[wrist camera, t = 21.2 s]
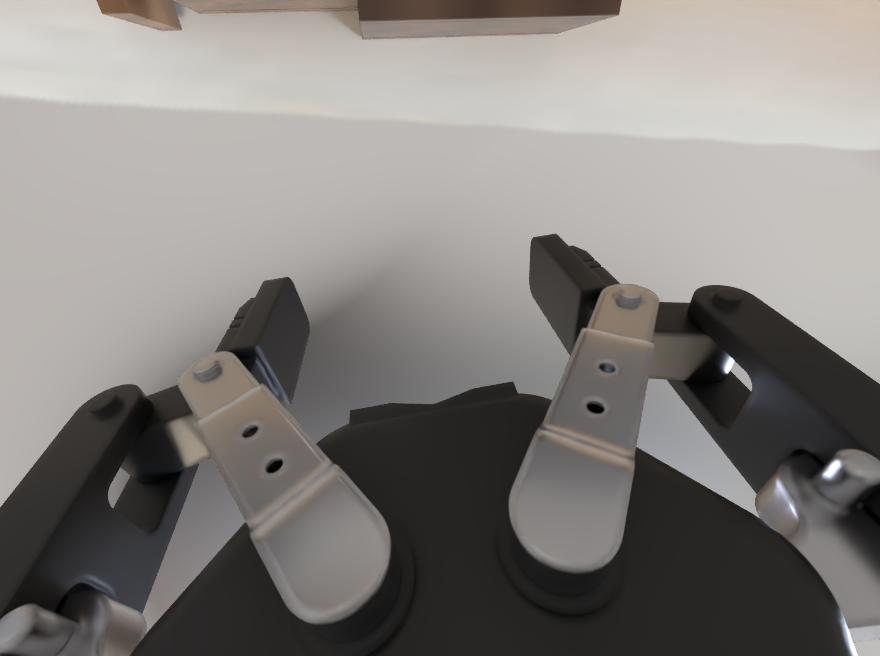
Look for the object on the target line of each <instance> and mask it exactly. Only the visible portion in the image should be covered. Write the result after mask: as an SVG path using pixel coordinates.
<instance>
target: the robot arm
mask: <svg viewBox="0 0 880 656" xmlns="http://www.w3.org/2000/svg"><path fill="white" fill-rule="evenodd" d="M529 272H530V273H529V284H530V290H531V293H532V296H533V298H534V299H535V301H536V302H537V304H538V306H539V307H540V309H541V310H542V312H543V314H544V315H545V316H546V318H547V320H548V321H549V323H550V324H551V326H552V328H553V329H554V331H555V332H556V334H557V336H558V337H559V339H560V340H561V342H562V344H563V345H564V347H565V348H566V350H567V351H568V353H569V354H570V358H569V361H568V363H567V366H566V368H565V371H564V373H563V375H562V378H561V380H560V383H559V385H558V387H557V390H556V392H555V395H554V397H553V400H550V399H547V398H544V397H540V396H536V395H530V394H519V393H517V390H516V388H515V385H514V383H513V382H508V383H502V384H496V385H491V386H485V387H480V388H474V389H471V390H469V391H466V392H464V393H461V394H459V395H456V396H454V397H451V398H449V399H446V400H444V401H441V402H439V403H436V404H397V403H389V404H384V405H378V406H373V407H367V408H362V409H356V410H350V421H349V424H347V425H345V426H343V427H341V428H339V429H337V430H335V431H333V432H332V433H330V434H328V435H327V436H325V437H324V438H323V439H322V440H320V441H319V442H318V443H317V444H316V443H315V442H314V441H313V440H312V439H311V437H310V436H309V435H308V434H307V433H306V432H305V430H304V429H303V428H302V427H301V426H300V425H299V424H298V422H297V421H296V420H295V419H294V418H293V417H292V415H291V414H290V413H289V412H288V411H287V410H286V409H285V407H290V406H291V404H292V400H293V396H294V392H295V388H296V384H297V380H298V376H299V372H300V369H301V365H302V361H303V357H304V353H305V349H306V345H307V341H308V337H309V333H310V327H309V321H308V317H307V315H306V312H305V310H304V307H303V305H302V303H301V300H300V298H299V296H298V293H297V291H296V288H295V286H294V283H293V282H292V280H291V279H290V278H289V277H285V278H279V279H273V280H266V281H264V282H263V284H262V285H261V287H260V289H259V291H258V293H257V295H256V297H255V298H251V299H250V300H248V301H247V302H246V303H245V304H244V305H243V306H242V307H240V308H239V310H238V312H237V314H236V316H235V317H234V320H233V321H232V323H231V325H230V326H229V327H230V329H228V330H227V332H226V334H225V335H224V337H223V339H222V341H221V343H220V344H219V346H218V348H217V350H216V351H215V353H211V354H208V355H205V356H203V357H201V358H199V359H197V360H195V361H194V362H192V363H191V364H190V365H188V366H187V367H186V368H185V369H184V370H183V371H182V372H181V373H180V375H179V377H178V379H177V385H176V386H173V387H170V388H168V389H165V390H163V391H160V392H157V393H154V394H152V395H149V396H146V395H145V394H144V393H143V391H142V390H141V389H140V388H139V387H138V386H136V385H131V384H126V385H120V386H116V387H113V388H110V389H108V390H106V391H103V392H102V393H100V394H98V395H96V396H94V397H93V398H91V399H90V400H88V401H87V402H86V403H84V404H83V405H82V406H81V407H80V408H79V409H78V410H77V411H76V412H75V413H74V415H73V416H72V417H71V419H70V420H69V421H68V422H67V424H66V425H65V426H64V427H63V429H62V430H61V431H60V432H59V434H58V435H57V436H56V438H55V439H54V440H53V441H52V443H51V444H50V445H49V446H48V448H47V449H46V450H45V451H44V453H43V454H42V455H41V457H40V458H39V459H38V460H37V462H36V463H35V464H34V466H33V467H32V468H31V469H30V471H29V472H28V473H27V474H26V476H25V477H24V478H23V480H22V481H21V482H20V483H19V485H18V486H17V487H16V488H15V490H14V491H13V492H12V494H11V495H10V496H9V497H8V498H7V500H6V501H5V502H4V504H3V505H2V506H1V507H0V656H857V653H856V651H855V648H854V644H853V643H856V642H864V641H872V640H880V384H879V383H877V382H876V381H874V380H873V379H872V378H870V377H869V376H867V375H866V374H865V373H863V372H862V371H860V370H859V369H857V368H856V367H855V366H853V365H852V364H850V363H849V362H847V361H846V360H845V359H843V358H842V357H840V356H839V355H838V354H836V353H835V352H833V351H832V350H831V349H829V348H828V347H826V346H825V345H823V344H822V343H821V342H819V341H817V340H816V339H815V338H814V337H812V336H811V335H809V334H808V333H806V332H805V331H803V330H802V329H801V328H799V327H798V326H796V325H795V324H794V323H792V322H791V321H789V320H788V319H786V318H785V317H784V316H782V315H781V314H779V313H778V312H776V311H775V310H774V309H772V308H771V307H769V306H768V305H767V304H765V303H764V302H762V301H761V300H759V299H758V298H757V297H755V296H754V295H752V294H750V293H748V292H746V291H744V290H741V289H738V288H734V287H730V286H723V285H722V286H721V285H709V286H704V287H701V288H699V289H697V290H696V291H695V292H694V294H693V297H692V300H691V302H690V303H672V302H659V299H658V297H657V295H656V294H655V293H654V292H652V291H651V290H649V289H646V288H644V287H641V286H638V285H633V284H620V283H619V282H618V281H617V280H616V279H615V278H614V277H613V276H612V275H611V274H610V273H609V272H608V271H607V270H605V269H604V268H603V267H601V265H600V264H599V263H598V262H597V261H595V260H594V258H593V257H592V256H591V255H590V254H589V253H588V252H587V251H584V250H582V249H580V248H578V247H575V246H568V245H567V244H566V243H565V242H564V241H563V240H562V239H561V238H560V237H559V236H558V235H557V234H551V235H545V236H538V237H533V239H532V240H531V247H530V271H529ZM734 361H735V362H736V363H738V364H739V365H740V366H741V367H742V368H743V369H744V370H745V371H746V372H747V374H748V375H749V377H750V379H751V382H752V392H751V391H750V390H749V389H748V388H747V387H746V386H745V385H744V384H743V383H742V382H741V381H740V380H739V379H738V378H737V377H736V376H735V375H734V374H733V373H732V372H731V371H730V369H731V367H732V365H733V363H734ZM648 378H653V379H667V380H668V382H669V383H670V385H671V386H672V387H673V388H674V390H675V391H676V392H677V393H678V395H679V396H680V397H681V399H682V400H683V401H684V402H685V404H686V405H687V406H688V407H689V408H690V410H691V411H692V412H693V414H694V415H695V416H696V418H697V419H698V420H699V421H700V423H701V424H702V425H703V426H704V428H705V429H706V430H707V431H708V433H709V434H710V435H711V437H712V438H713V439H714V440H715V442H716V443H717V444H718V445H719V447H720V448H721V449H722V450H723V452H724V453H725V454H726V456H727V457H728V458H729V459H730V461H731V462H732V463H733V465H734V466H735V467H736V468H737V469H738V471H739V472H740V473H741V475H742V476H743V477H744V478H745V480H746V481H747V482H748V484H749V485H750V486H751V487H752V489H753V490H754V491H755V492H756V494H757V495H756V498H755V506H756V510H757V513H758V515H759V517H760V518H758V517H756V516H755V515H753V514H752V513H750V512H748V511H747V510H745V509H743V508H741V507H740V506H738V505H736V504H734V503H733V502H731V501H729V500H728V499H726V498H724V497H722V496H720V495H719V494H717V493H715V492H713V491H712V490H710V489H708V488H707V487H705V486H703V485H701V484H700V483H698V482H696V481H695V480H693V479H691V478H689V477H688V476H686V475H684V474H682V473H681V472H679V471H677V470H675V469H674V468H672V467H670V466H669V465H667V464H665V463H663V462H662V461H660V460H658V459H656V458H654V457H653V456H651V455H649V454H648V453H646V452H644V451H642V450H641V449H639V448H637V447H636V444H637V439H638V434H639V428H640V422H641V417H642V411H643V405H644V400H645V394H646V389H647V383H648ZM211 457H212V459H213V461H214V463H215V465H216V467H217V468H218V470H219V472H220V474H221V476H222V477H223V480H224V482H225V483H226V485H227V487H228V489H229V491H230V493H231V495H232V497H233V498H234V500H235V502H236V504H237V506H238V508H239V510H240V512H241V513H242V515H243V517H244V519H245V521H246V522H245V523H244V524H243V525H242V526H241V527H240V529H239V530H238V531H237V532H236V533H235V534H234V535H233V536H232V538H231V539H230V540H229V541H228V542H227V543H226V544H225V546H224V547H223V548H222V549H221V550H220V551H219V552H218V553H217V555H216V556H215V557H214V558H213V559H212V560H211V561H210V562H209V564H208V565H207V566H206V567H205V568H204V569H203V570H202V571H201V573H200V574H199V575H198V576H197V577H196V578H195V579H194V581H193V582H192V583H191V584H190V585H189V586H188V587H187V588H186V590H185V591H184V592H183V593H182V594H181V595H180V596H179V597H178V599H177V600H176V601H175V602H174V603H173V604H172V605H171V606H170V608H169V609H168V610H167V611H166V612H165V613H164V614H163V615H162V617H161V618H160V619H159V620H158V621H157V622H156V623H155V624H154V626H153V627H152V628H151V629H150V630H149V631H148V633H147V634H146V631H147V627H146V621H145V618H144V617H143V615H142V613H143V610H144V607H145V605H146V602H147V599H148V597H149V594H150V592H151V589H152V586H153V584H154V581H155V579H156V576H157V573H158V571H159V568H160V565H161V563H162V560H163V557H164V555H165V552H166V550H167V547H168V544H169V542H170V539H171V537H172V534H173V531H174V529H175V526H176V523H177V521H178V518H179V516H180V513H181V510H182V508H183V505H184V502H185V500H186V497H187V494H188V492H189V489H190V487H191V484H192V481H193V479H194V476H195V473H196V471H197V468H198V465H199V463H200V462H202V461H204V460H207V459H209V458H211ZM120 467H121V468H122V469H123V470H125V471H126V472H127V473H128V474H129V475H130V478H129V480H128V482H127V484H126V486H125V488H124V489H123V491H122V493H121V495H120V497H119V499H118V500H117V502H116V504H115V506H114V508H112V507H111V506H110V504H109V501H108V490H109V487H110V484H111V482H112V481H113V479H114V477H115V476H116V474H117V472H118V470H119V468H120Z"/></svg>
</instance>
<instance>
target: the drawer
mask: <svg viewBox="0 0 880 656" xmlns="http://www.w3.org/2000/svg"><path fill="white" fill-rule="evenodd" d="M173 1H174V2H176V3H178V4H181V5H183V6H185V7H187V8H189V9H192V10H194V11H195V12H198V13H247V12H295V11H342V10H358V3H357V0H97V2H98V5H99V7H100V10H101V12H102V14H105V15H108V16H112V17H115V18H119V19H122V20H126V21H129V22H133V23H136V24H140V25H143V26H147V27H150V28H154V29H157V30H161V31H174V30H182V28H181V25H180V22H179V19H178V16H177V13H176V10H175V7H174V4H173Z"/></svg>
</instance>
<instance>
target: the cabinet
mask: <svg viewBox="0 0 880 656" xmlns="http://www.w3.org/2000/svg"><path fill="white" fill-rule="evenodd" d="M357 3H358V11H359V20H360V27H361V34H362V39H394V38H427V37H460V36H493V35H527V34H558V33H561V32H564V31H567V30H570V29H574V28H577V27H580V26H584V25H587V24H590V23H594V22H597V21H600V20H604V19H607V18H611V17H614V16H617V15H619V12H620V6H621V0H357Z"/></svg>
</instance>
